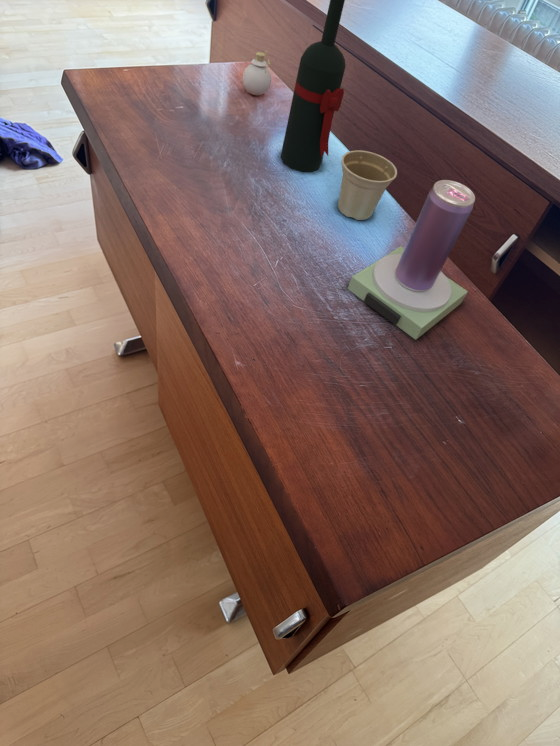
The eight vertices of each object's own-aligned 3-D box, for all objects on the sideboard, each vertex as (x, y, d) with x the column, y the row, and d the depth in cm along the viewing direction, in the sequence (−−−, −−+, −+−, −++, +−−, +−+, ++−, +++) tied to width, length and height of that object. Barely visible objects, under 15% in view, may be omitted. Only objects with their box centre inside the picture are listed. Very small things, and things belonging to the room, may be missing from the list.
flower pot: (346, 188, 104) (359, 143, 97) (390, 212, 101) (406, 168, 95) (318, 207, 98) (331, 162, 92) (364, 233, 96) (380, 188, 89)
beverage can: (423, 299, 82) (467, 211, 71) (387, 280, 83) (425, 190, 72) (438, 279, 86) (483, 193, 74) (403, 261, 87) (442, 173, 76)
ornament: (261, 86, 124) (268, 37, 117) (276, 103, 120) (285, 53, 113) (236, 87, 122) (242, 37, 114) (251, 104, 118) (258, 53, 110)
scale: (461, 303, 88) (470, 287, 86) (413, 342, 81) (421, 325, 78) (396, 257, 93) (402, 241, 90) (344, 290, 85) (350, 273, 83)
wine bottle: (301, 182, 102) (345, -7, 80) (272, 152, 107) (307, -35, 85) (336, 175, 106) (388, -7, 83) (306, 147, 111) (348, -33, 88)
